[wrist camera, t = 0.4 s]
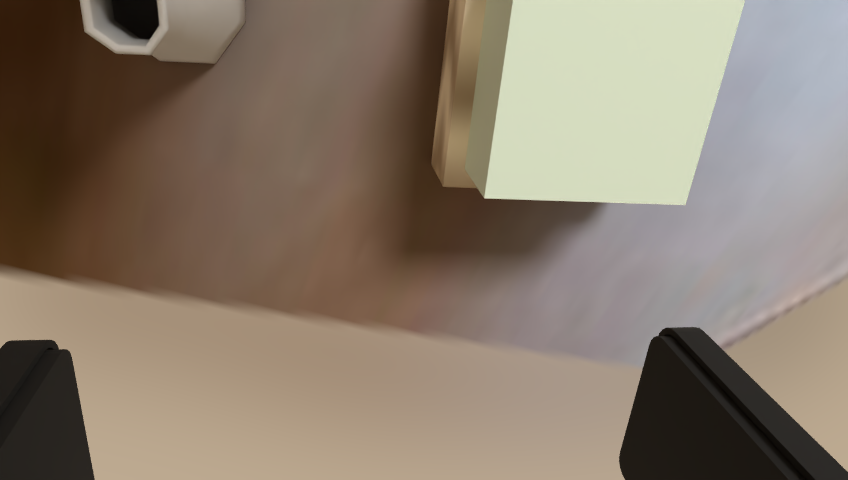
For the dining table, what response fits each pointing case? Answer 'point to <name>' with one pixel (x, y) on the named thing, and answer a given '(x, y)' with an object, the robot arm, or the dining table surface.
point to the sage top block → (596, 97)
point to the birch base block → (457, 91)
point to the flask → (165, 27)
